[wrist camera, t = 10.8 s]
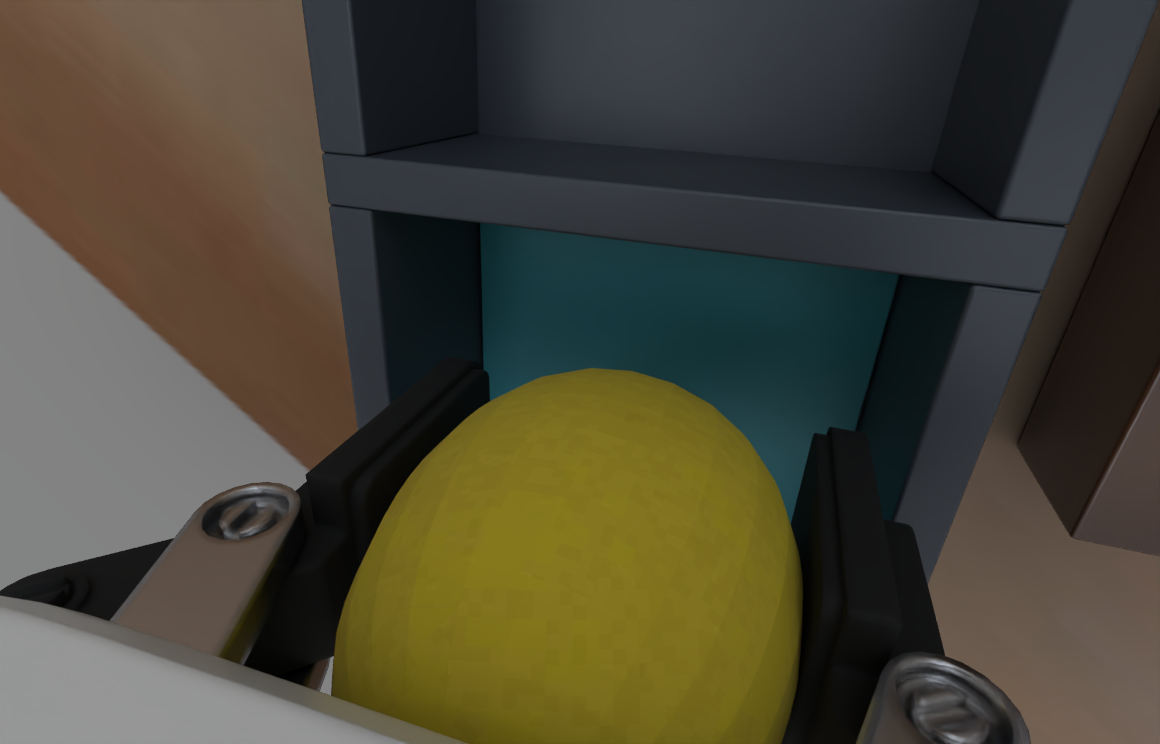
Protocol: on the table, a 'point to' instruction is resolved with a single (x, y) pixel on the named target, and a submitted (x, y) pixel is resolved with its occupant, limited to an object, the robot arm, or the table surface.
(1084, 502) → the tap panel
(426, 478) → the lemon
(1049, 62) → the compartment box
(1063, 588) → the table surface
